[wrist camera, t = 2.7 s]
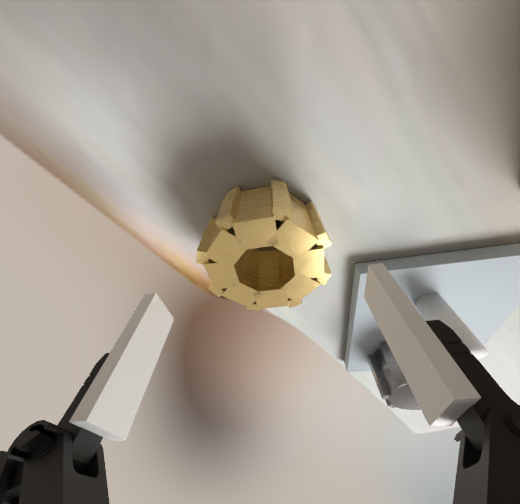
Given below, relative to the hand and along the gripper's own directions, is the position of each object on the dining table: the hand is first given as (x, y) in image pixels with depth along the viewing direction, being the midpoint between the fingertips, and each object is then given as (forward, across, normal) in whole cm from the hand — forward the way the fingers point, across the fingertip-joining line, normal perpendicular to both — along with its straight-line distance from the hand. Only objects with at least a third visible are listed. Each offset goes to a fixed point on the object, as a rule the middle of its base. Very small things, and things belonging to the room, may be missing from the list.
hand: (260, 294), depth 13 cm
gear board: (+7, +16, -14) cm, 23 cm away
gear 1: (+7, 0, 0) cm, 7 cm away
